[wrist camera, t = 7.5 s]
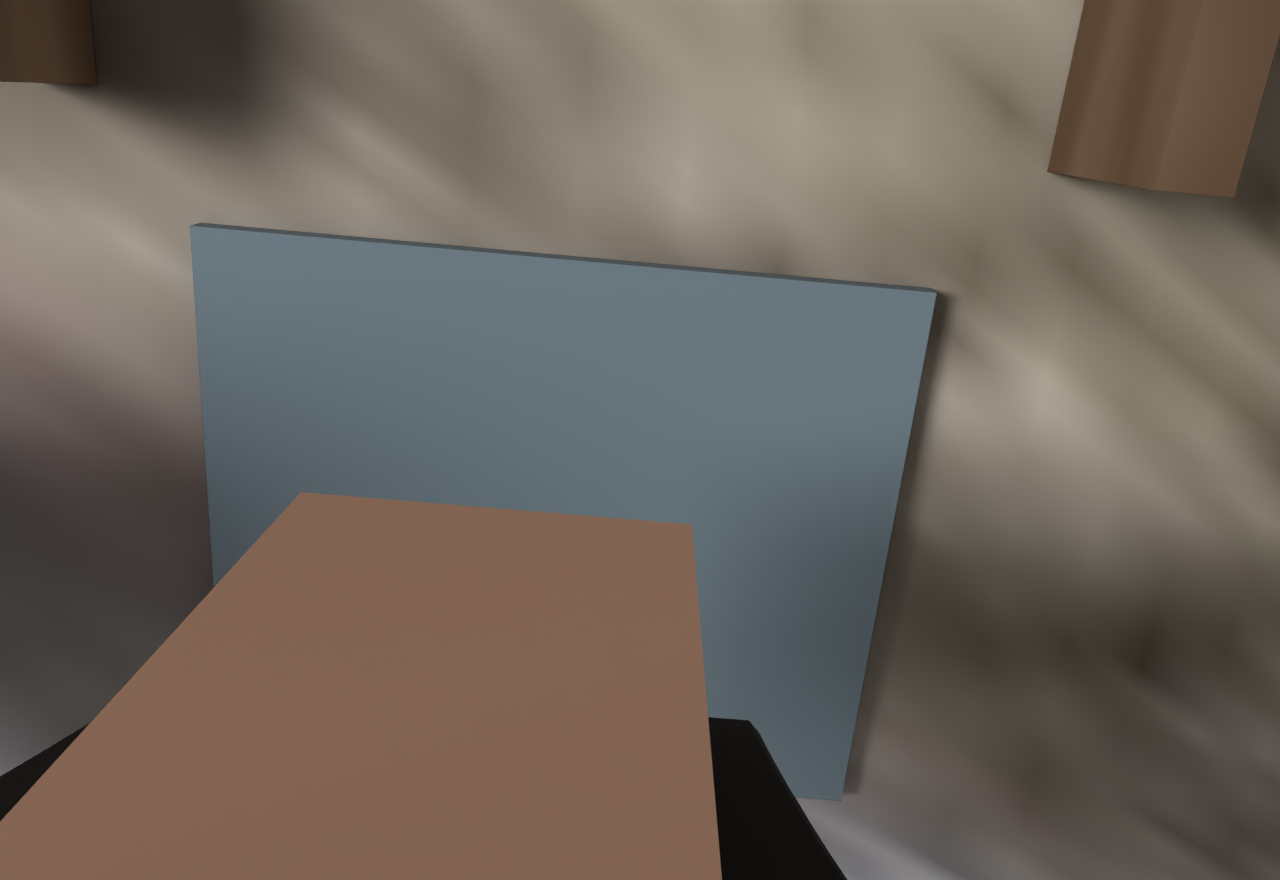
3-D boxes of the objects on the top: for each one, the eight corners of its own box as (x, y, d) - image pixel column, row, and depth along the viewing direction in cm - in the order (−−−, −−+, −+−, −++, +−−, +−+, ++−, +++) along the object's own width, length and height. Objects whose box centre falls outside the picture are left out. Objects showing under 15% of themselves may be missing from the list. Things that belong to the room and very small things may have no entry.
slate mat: (232, 737, 19) (223, 749, 19) (200, 222, 16) (189, 225, 15) (837, 787, 19) (841, 800, 19) (929, 288, 16) (936, 292, 16)
